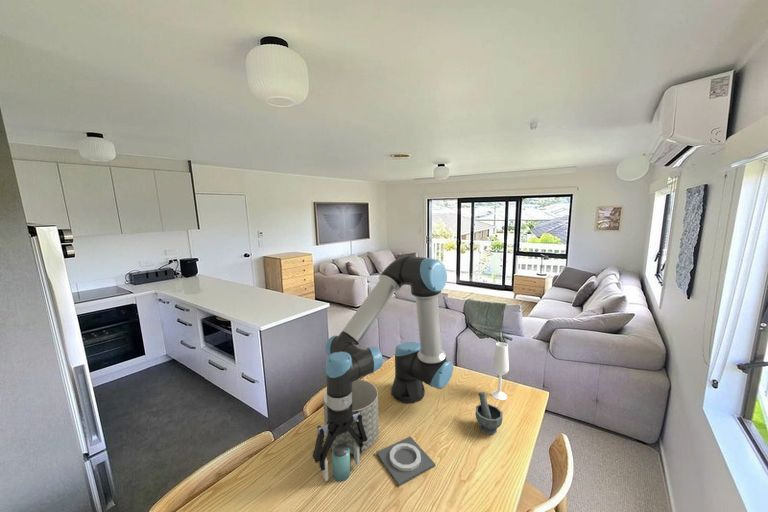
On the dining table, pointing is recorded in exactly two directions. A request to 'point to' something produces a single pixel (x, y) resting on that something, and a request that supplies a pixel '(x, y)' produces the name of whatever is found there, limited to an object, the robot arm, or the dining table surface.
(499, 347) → the champagne flute
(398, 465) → the holder
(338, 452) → the teal and grey peg
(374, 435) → the planter
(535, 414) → the dining table surface
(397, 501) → the dining table surface
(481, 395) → the mortar and pestle
